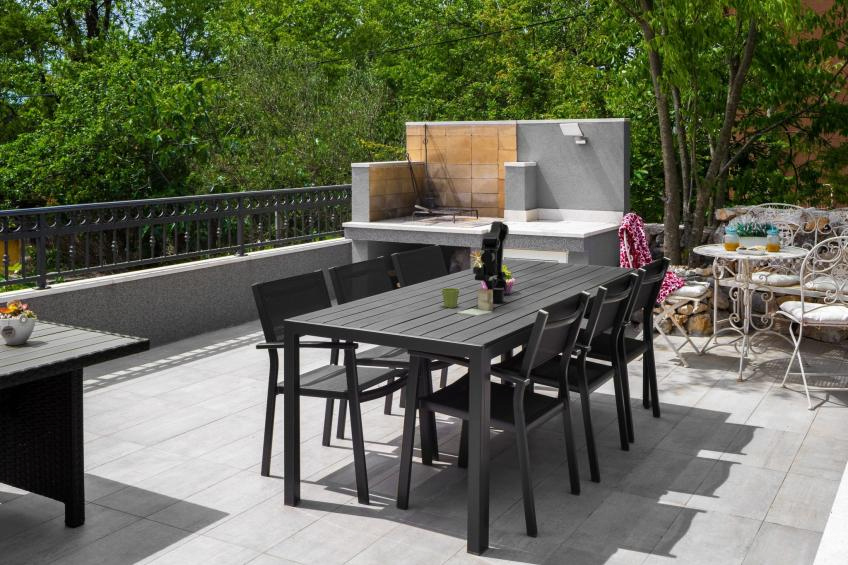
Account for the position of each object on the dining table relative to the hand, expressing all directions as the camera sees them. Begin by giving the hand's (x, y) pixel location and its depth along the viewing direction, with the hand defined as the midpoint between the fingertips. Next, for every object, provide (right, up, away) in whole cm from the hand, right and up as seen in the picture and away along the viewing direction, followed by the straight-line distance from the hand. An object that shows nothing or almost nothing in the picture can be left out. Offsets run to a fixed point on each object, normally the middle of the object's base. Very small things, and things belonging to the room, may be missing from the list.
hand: (490, 293), depth 458 cm
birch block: (-2, -8, -2) cm, 9 cm away
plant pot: (-19, -7, +8) cm, 22 cm away
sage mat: (-8, -9, -9) cm, 15 cm away
